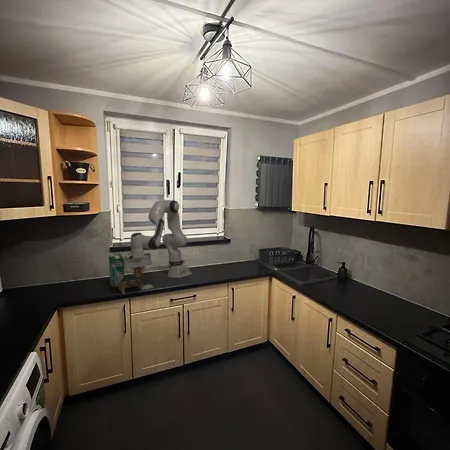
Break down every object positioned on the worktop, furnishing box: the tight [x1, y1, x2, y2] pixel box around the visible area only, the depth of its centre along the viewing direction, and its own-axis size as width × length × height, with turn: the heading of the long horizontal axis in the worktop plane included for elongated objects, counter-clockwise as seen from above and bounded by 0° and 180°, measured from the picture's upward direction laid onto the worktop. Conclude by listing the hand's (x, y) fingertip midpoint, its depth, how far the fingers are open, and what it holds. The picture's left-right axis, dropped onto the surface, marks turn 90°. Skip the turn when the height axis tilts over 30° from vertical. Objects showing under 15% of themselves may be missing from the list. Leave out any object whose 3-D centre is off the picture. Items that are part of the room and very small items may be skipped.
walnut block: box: [133, 267, 144, 278], centre depth 192 cm, size 5×5×6 cm
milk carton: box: [108, 253, 126, 288], centre depth 210 cm, size 9×9×25 cm
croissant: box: [118, 278, 144, 295], centre depth 201 cm, size 15×12×6 cm
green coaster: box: [143, 283, 155, 290], centre depth 206 cm, size 8×8×1 cm
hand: (138, 272), depth 192 cm, fingers closed on walnut block, 5 cm apart
